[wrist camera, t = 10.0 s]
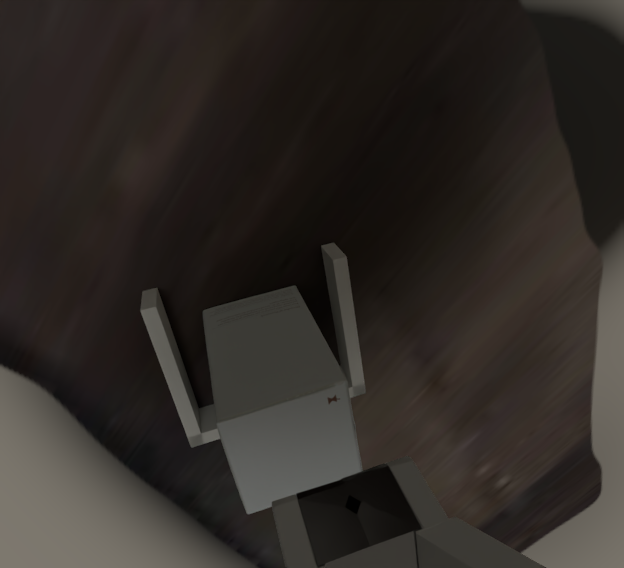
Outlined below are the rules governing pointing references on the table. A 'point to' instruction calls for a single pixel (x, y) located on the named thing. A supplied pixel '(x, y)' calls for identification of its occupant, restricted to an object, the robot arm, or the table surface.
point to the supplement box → (278, 398)
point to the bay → (203, 419)
